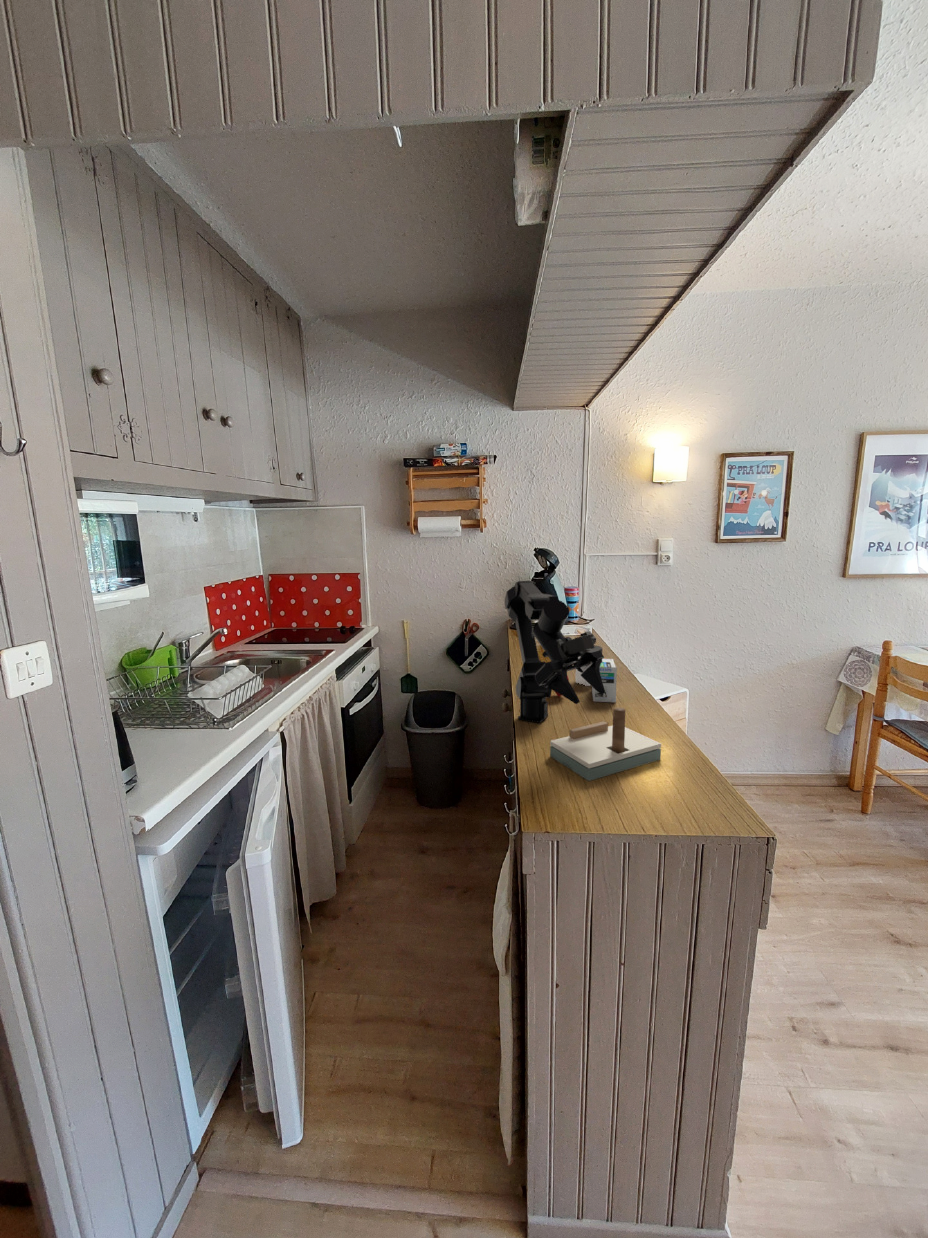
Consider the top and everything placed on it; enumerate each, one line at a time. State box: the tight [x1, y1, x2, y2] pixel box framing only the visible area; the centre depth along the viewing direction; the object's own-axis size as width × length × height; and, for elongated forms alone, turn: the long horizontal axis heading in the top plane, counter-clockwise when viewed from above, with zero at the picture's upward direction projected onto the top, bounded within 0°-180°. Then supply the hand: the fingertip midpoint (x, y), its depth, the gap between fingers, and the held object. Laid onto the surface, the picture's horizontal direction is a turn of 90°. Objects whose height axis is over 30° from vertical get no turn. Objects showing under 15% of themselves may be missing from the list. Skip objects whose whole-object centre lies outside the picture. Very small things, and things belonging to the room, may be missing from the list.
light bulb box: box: [591, 658, 618, 703], centre depth 151 cm, size 11×7×11 cm, turn 168°
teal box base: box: [549, 745, 662, 782], centre depth 111 cm, size 13×20×2 cm, turn 117°
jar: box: [575, 644, 603, 687], centre depth 165 cm, size 9×8×12 cm
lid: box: [549, 721, 662, 768], centre depth 110 cm, size 13×20×3 cm, turn 116°
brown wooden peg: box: [612, 707, 626, 754], centre depth 106 cm, size 2×2×12 cm
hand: (591, 698), depth 110 cm, fingers open, 9 cm apart
